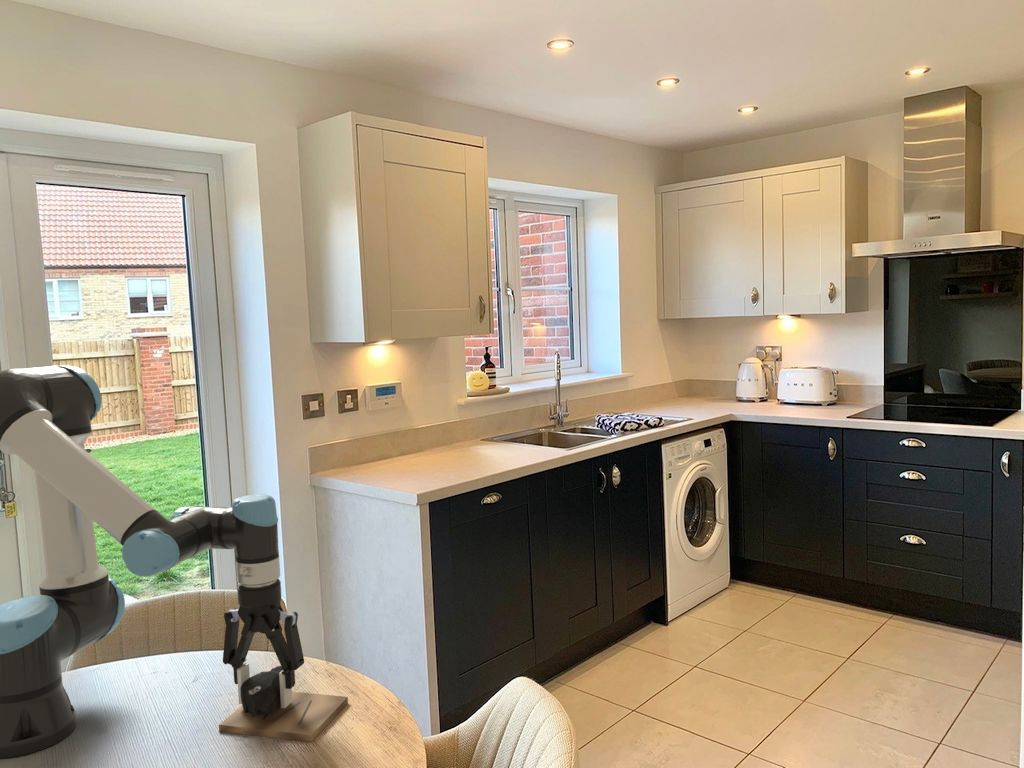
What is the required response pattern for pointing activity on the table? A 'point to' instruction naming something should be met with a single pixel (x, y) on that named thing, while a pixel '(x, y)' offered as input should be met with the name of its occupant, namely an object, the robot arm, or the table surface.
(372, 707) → the table surface
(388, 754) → the table surface
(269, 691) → the rock
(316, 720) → the board
